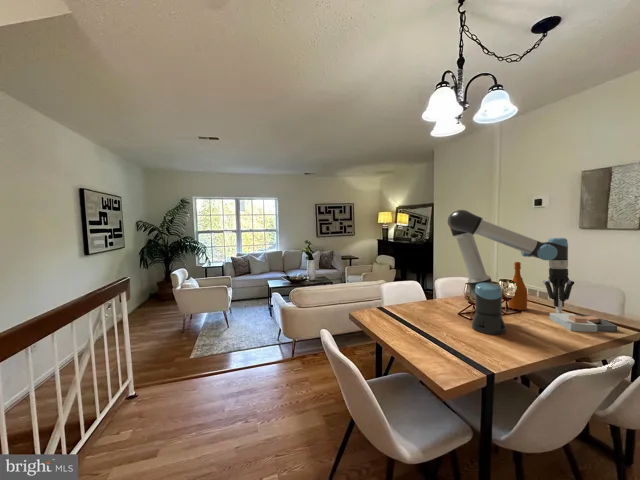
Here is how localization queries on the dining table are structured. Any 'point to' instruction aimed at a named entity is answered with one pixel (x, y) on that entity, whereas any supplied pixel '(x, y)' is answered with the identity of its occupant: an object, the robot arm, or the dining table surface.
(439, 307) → the dining table surface
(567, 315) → the board
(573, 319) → the tile near
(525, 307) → the wine bottle
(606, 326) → the tray
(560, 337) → the dining table surface
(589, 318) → the tile far
